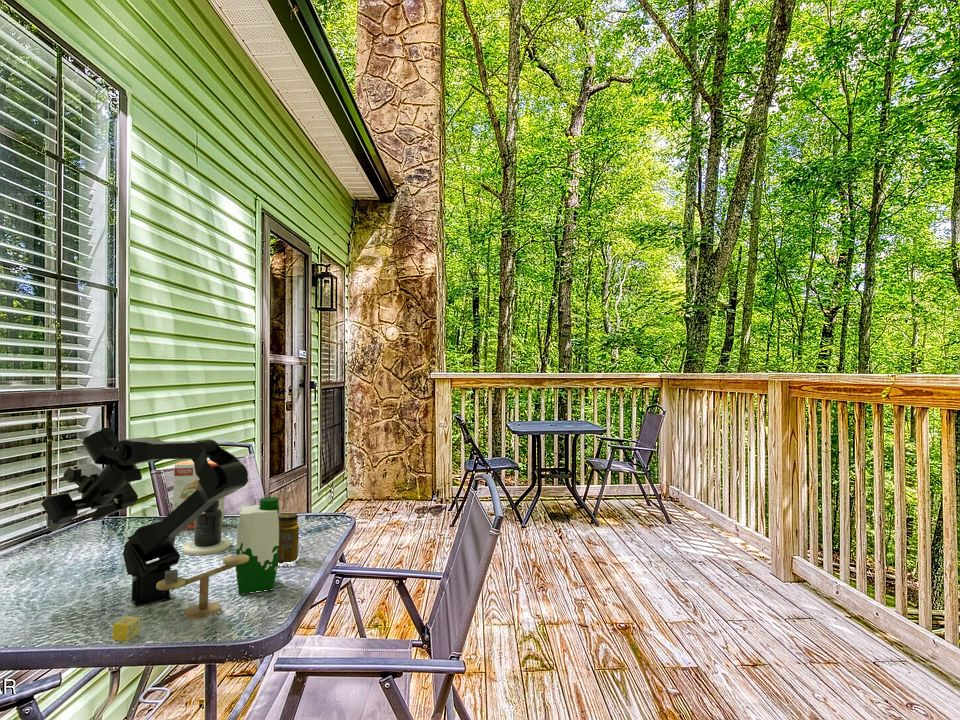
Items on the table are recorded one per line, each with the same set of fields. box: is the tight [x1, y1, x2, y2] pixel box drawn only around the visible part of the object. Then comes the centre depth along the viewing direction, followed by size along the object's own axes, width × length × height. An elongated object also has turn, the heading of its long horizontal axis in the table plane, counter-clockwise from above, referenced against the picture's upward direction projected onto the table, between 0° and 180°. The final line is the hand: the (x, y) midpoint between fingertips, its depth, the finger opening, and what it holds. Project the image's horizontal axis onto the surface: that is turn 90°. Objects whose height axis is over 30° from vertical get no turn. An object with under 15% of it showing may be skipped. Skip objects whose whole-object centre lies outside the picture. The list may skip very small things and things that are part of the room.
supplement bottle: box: [193, 500, 223, 547], centre depth 146 cm, size 7×7×12 cm
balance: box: [156, 554, 249, 621], centre depth 106 cm, size 17×5×10 cm, turn 126°
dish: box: [181, 537, 231, 556], centre depth 146 cm, size 12×12×1 cm
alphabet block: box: [112, 615, 142, 642], centre depth 96 cm, size 3×3×3 cm
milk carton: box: [235, 496, 280, 595], centre depth 120 cm, size 9×9×20 cm
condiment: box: [278, 512, 300, 563], centre depth 137 cm, size 7×8×12 cm
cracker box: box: [172, 460, 226, 530], centre depth 167 cm, size 14×6×21 cm, turn 104°
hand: (72, 524), depth 120 cm, fingers open, 9 cm apart
